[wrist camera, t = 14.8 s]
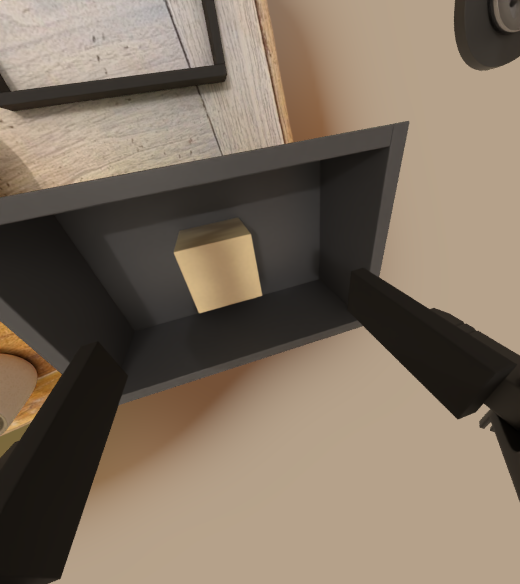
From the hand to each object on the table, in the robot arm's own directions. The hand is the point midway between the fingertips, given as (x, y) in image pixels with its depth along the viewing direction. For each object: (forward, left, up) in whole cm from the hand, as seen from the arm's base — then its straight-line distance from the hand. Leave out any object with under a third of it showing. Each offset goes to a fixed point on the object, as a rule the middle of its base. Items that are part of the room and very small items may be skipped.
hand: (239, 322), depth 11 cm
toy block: (0, 0, -11) cm, 11 cm away
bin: (0, 0, -12) cm, 12 cm away
